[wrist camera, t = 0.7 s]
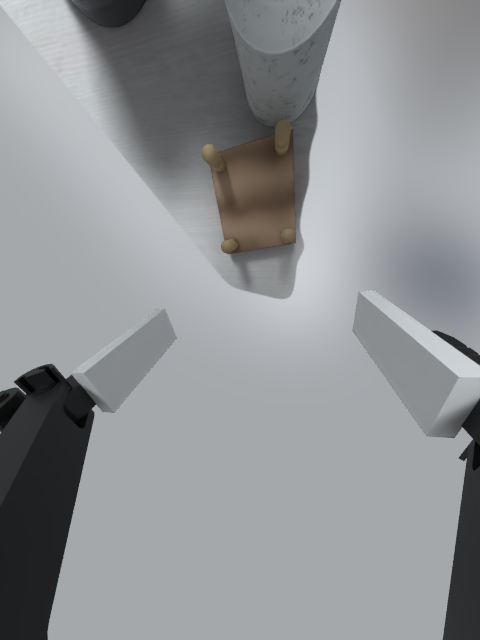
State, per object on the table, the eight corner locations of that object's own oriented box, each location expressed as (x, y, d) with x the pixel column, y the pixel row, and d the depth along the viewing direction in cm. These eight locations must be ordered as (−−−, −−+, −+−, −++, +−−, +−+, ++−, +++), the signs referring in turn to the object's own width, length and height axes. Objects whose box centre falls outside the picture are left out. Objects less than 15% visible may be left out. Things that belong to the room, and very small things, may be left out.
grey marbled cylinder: (262, 144, 26) (252, 88, 15) (232, 57, 23) (193, -91, 12) (330, 93, 23) (379, -24, 12) (307, -18, 19) (345, -320, 9)
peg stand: (212, 159, 28) (194, 141, 22) (291, 135, 25) (296, 106, 19) (229, 252, 34) (219, 258, 28) (294, 241, 31) (299, 245, 25)
